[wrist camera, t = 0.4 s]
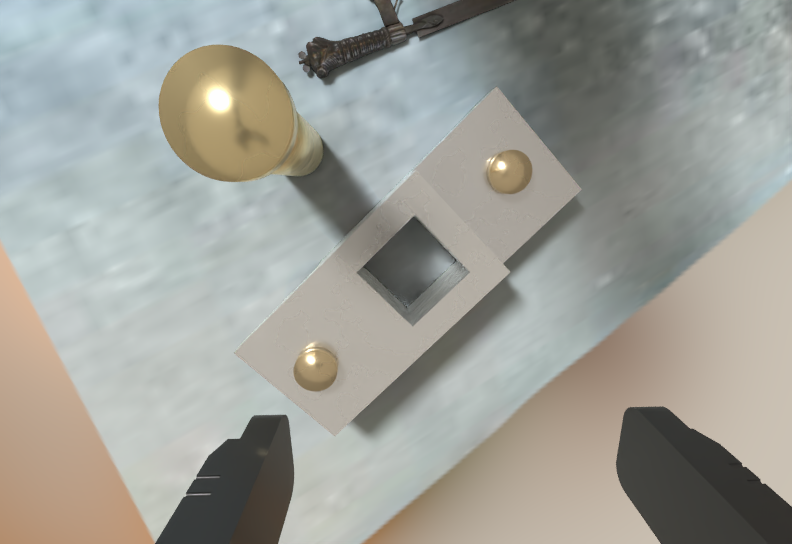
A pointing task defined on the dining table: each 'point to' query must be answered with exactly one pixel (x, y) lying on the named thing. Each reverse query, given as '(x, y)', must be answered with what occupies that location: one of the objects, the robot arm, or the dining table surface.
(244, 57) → the pin
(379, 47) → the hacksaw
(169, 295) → the dining table surface
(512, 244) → the gray block
